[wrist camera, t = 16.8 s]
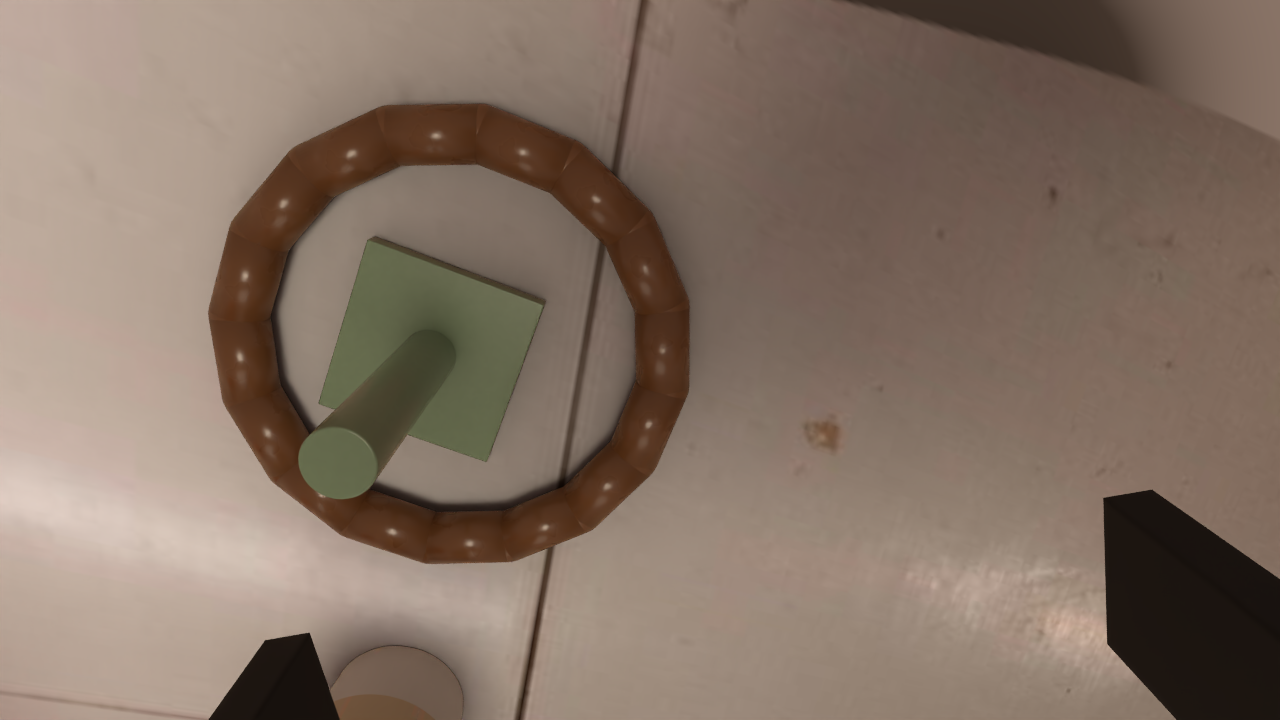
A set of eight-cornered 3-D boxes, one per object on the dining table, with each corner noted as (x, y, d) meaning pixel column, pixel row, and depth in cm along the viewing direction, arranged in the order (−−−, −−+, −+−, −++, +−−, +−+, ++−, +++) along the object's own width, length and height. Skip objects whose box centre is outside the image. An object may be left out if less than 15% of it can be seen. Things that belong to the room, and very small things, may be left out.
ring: (296, 25, 33) (271, 17, 31) (759, 214, 35) (769, 220, 33) (182, 463, 38) (153, 485, 36) (592, 600, 41) (590, 629, 38)
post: (374, 236, 35) (238, 296, 23) (546, 300, 36) (505, 392, 24) (325, 396, 37) (176, 533, 25) (489, 453, 38) (425, 612, 26)
